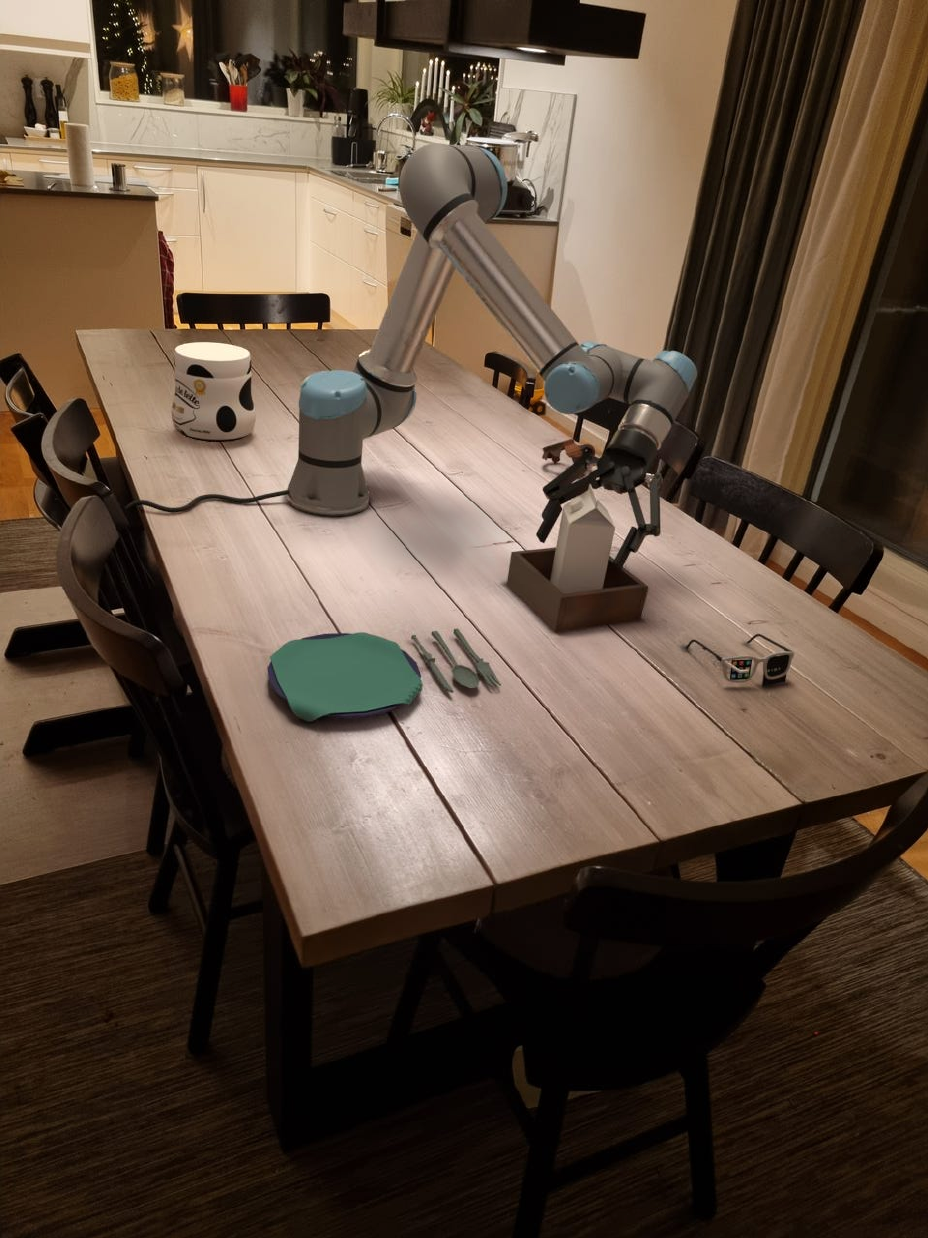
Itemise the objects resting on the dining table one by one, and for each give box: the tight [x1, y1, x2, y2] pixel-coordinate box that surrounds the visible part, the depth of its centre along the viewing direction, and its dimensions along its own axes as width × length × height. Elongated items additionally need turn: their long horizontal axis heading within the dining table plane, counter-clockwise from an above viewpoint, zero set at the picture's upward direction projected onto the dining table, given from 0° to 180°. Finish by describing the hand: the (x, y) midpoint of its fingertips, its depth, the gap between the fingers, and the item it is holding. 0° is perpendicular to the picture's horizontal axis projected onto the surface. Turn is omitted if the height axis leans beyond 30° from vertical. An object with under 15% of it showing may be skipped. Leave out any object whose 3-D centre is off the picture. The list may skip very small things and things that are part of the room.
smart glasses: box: [685, 633, 795, 687], centre depth 134 cm, size 12×14×5 cm
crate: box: [506, 546, 649, 633], centre depth 146 cm, size 16×16×6 cm
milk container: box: [171, 341, 257, 444], centre depth 193 cm, size 17×17×18 cm
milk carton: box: [550, 484, 616, 594], centre depth 143 cm, size 7×7×19 cm
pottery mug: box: [541, 438, 596, 465], centre depth 203 cm, size 12×10×8 cm
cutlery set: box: [267, 627, 502, 723], centre depth 121 cm, size 20×30×2 cm, turn 113°
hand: (577, 552), depth 142 cm, fingers open, 13 cm apart
